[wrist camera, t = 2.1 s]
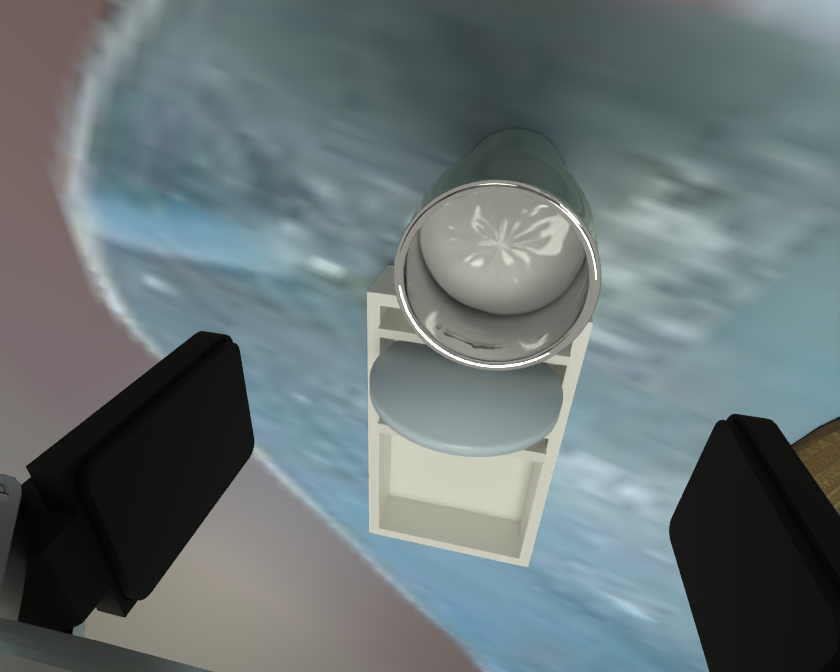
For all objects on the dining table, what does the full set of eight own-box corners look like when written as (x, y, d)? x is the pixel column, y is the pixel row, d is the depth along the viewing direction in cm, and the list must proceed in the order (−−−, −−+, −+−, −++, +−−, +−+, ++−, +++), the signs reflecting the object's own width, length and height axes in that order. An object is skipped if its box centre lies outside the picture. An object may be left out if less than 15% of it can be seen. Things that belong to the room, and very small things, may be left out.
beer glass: (497, 93, 26) (459, 121, 13) (601, 165, 26) (662, 260, 14) (432, 201, 29) (352, 306, 17) (524, 262, 30) (516, 409, 17)
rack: (387, 264, 32) (317, 358, 22) (585, 289, 30) (611, 405, 20) (384, 490, 43) (337, 622, 33) (528, 520, 41) (526, 670, 31)
